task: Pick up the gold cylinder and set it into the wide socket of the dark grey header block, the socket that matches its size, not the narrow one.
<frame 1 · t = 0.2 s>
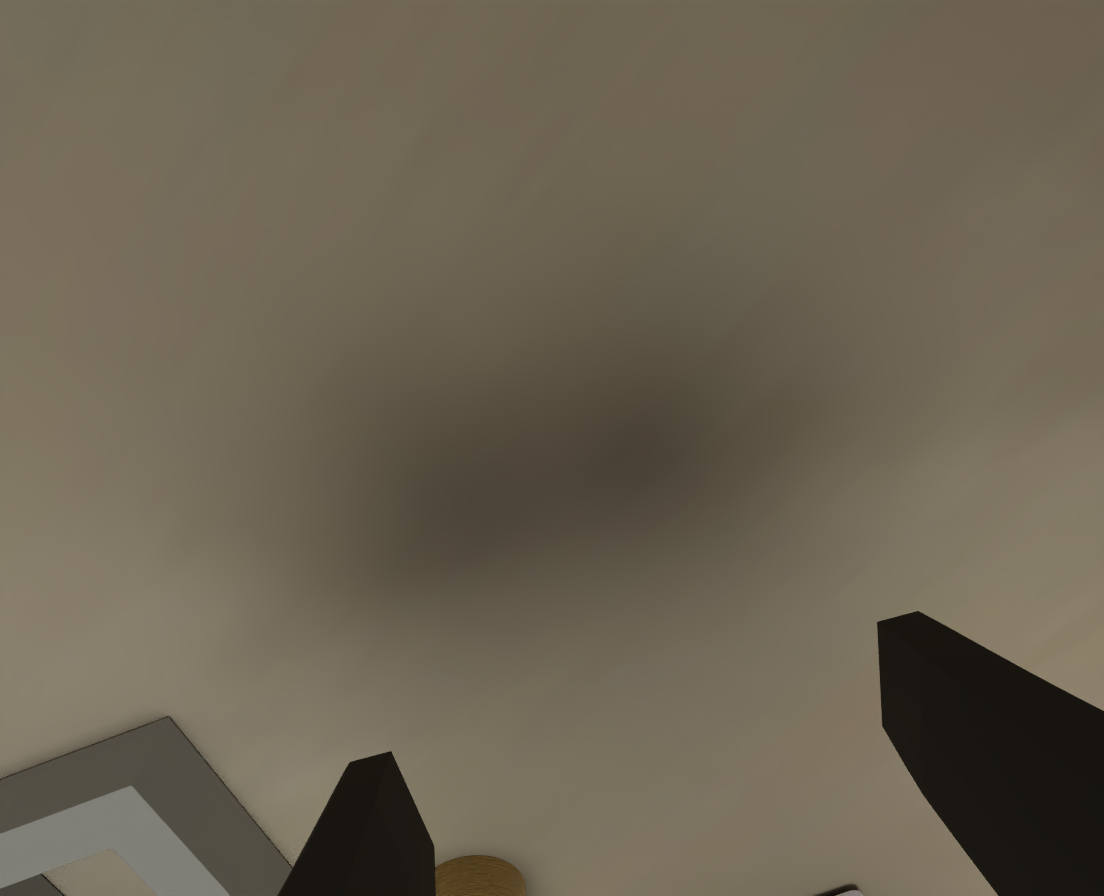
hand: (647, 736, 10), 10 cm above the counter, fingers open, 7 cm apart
gold cylinder: (471, 892, 25), on the counter
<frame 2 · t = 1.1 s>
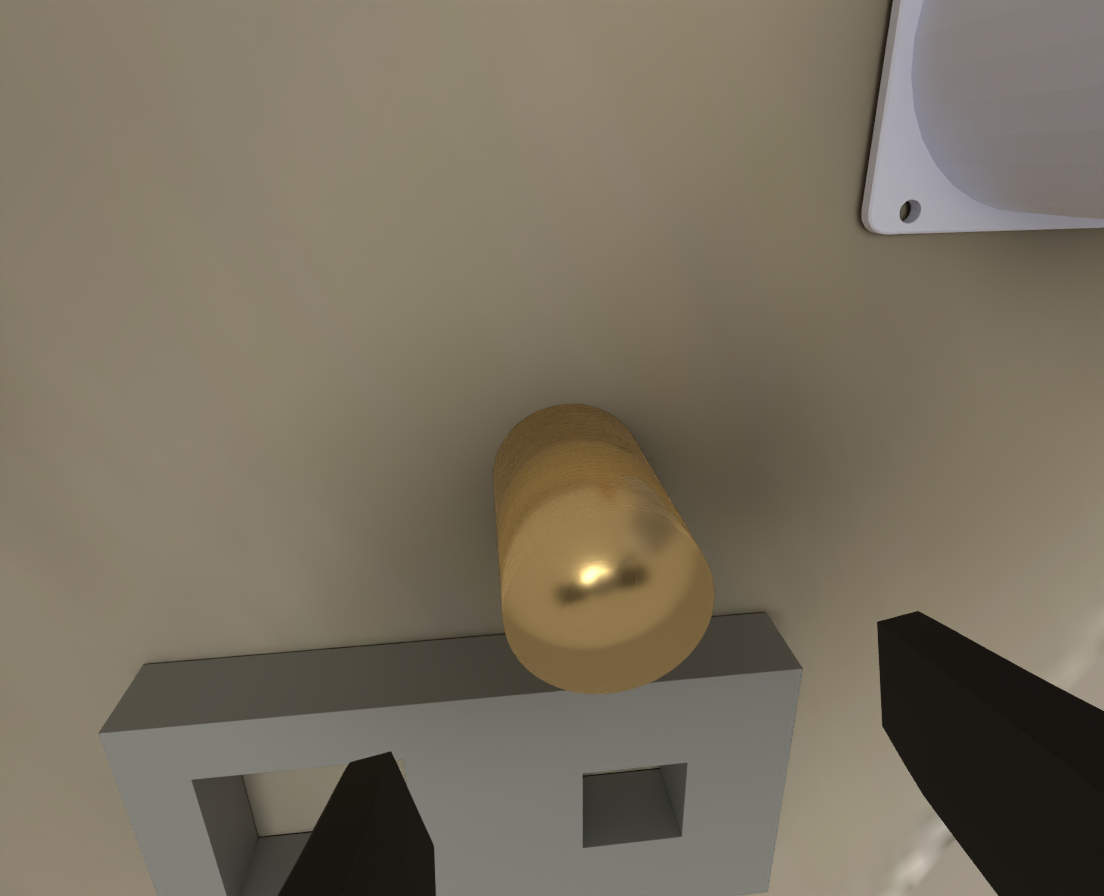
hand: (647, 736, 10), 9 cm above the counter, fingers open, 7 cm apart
header block: (477, 753, 22), on the counter
gold cylinder: (568, 474, 18), on the counter
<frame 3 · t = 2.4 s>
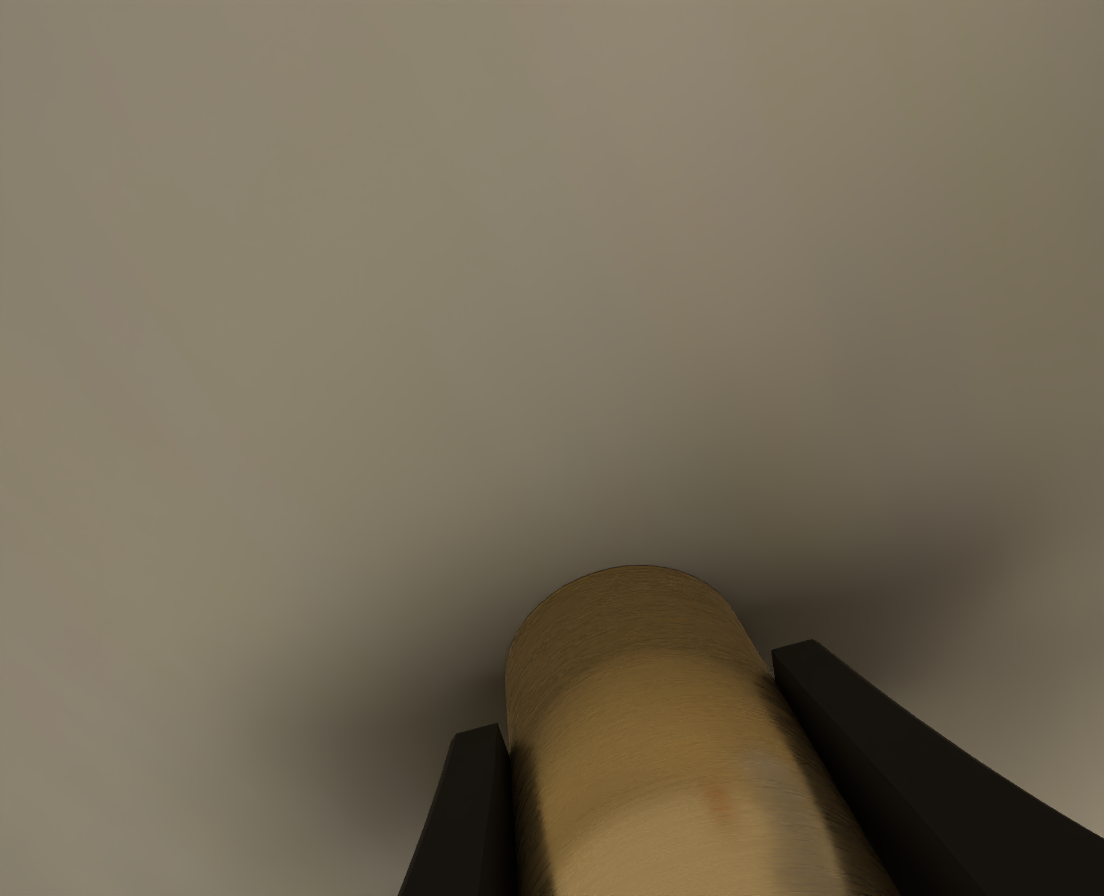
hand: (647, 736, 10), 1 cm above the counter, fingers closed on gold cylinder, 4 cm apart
gold cylinder: (626, 669, 11), on the counter, touching gripper
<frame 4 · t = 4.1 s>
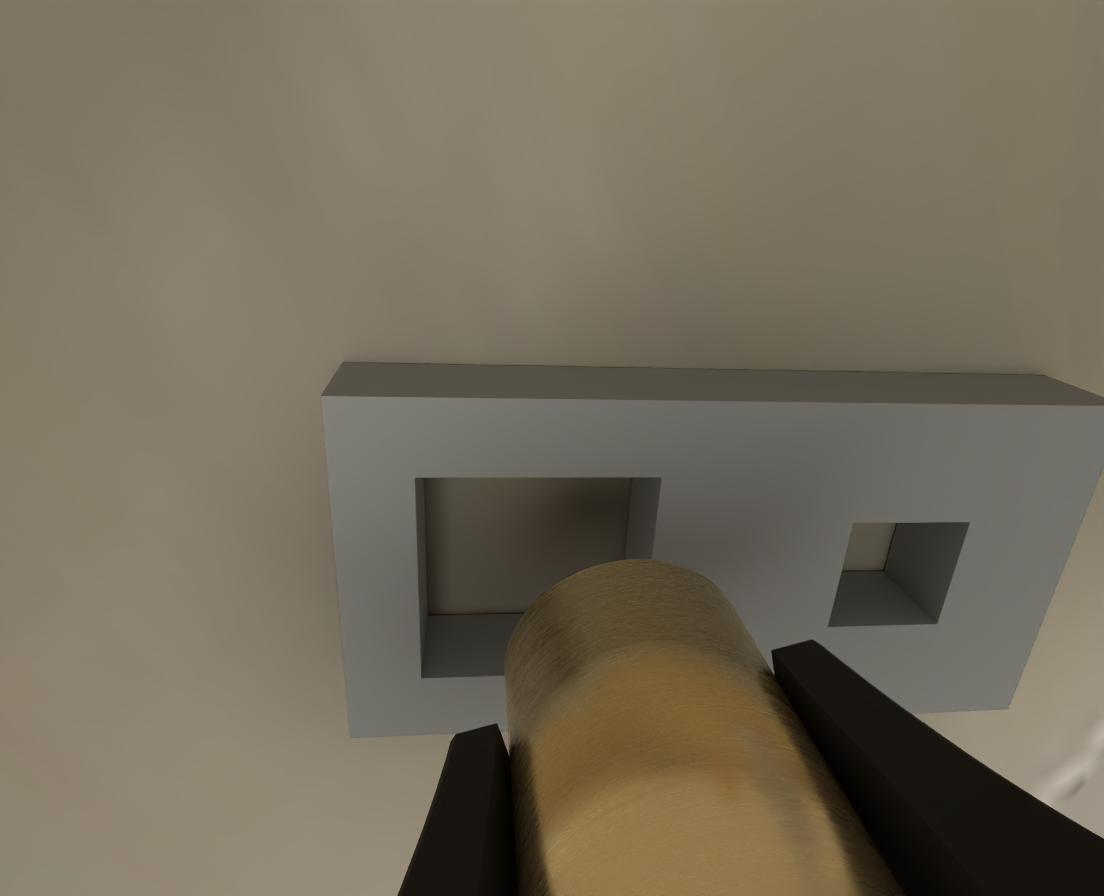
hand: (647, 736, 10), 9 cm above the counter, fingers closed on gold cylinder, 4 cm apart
header block: (691, 527, 19), on the counter
gold cylinder: (625, 663, 11), point 7 cm above the counter, touching gripper
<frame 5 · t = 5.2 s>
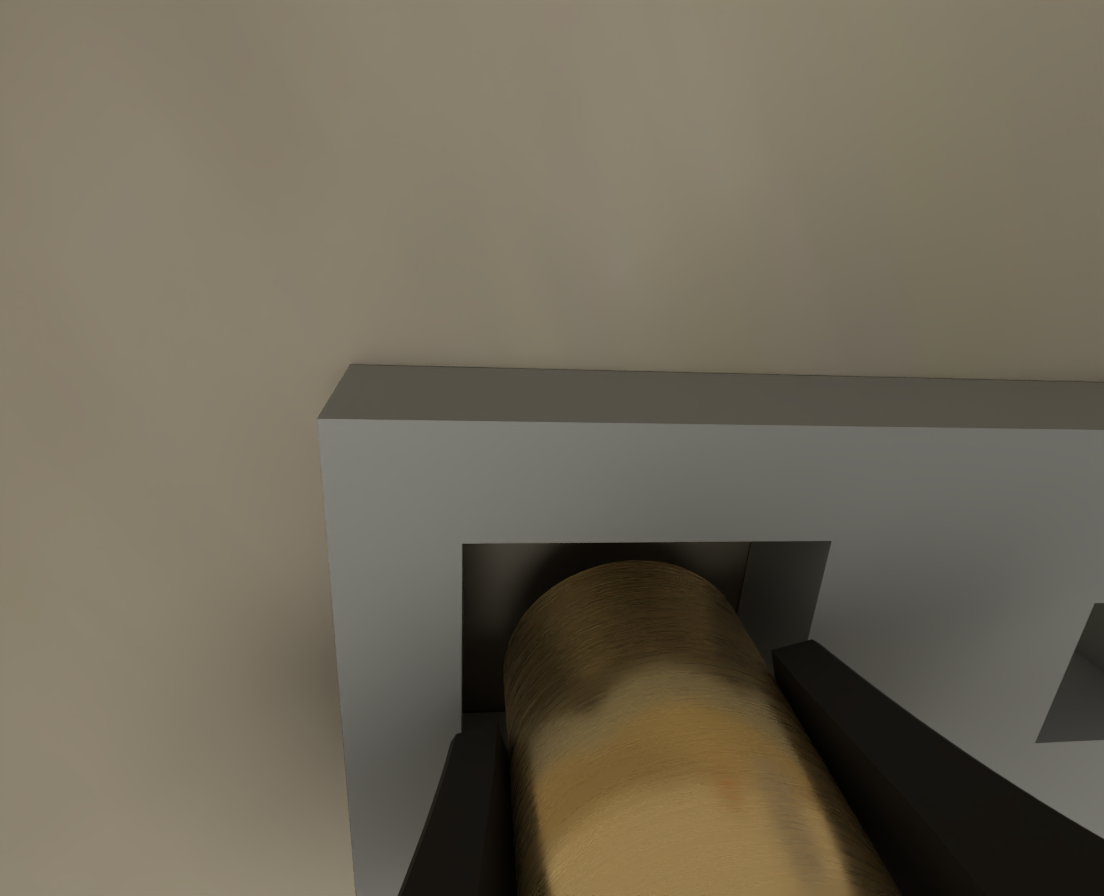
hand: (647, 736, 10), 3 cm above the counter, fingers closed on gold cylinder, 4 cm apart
header block: (827, 594, 14), on the counter
gold cylinder: (624, 664, 11), point 2 cm above the counter, touching gripper
when the fingers open (3 cm above the counter, at t = 6.1 s): gold cylinder drops 2 cm, resting in header block.
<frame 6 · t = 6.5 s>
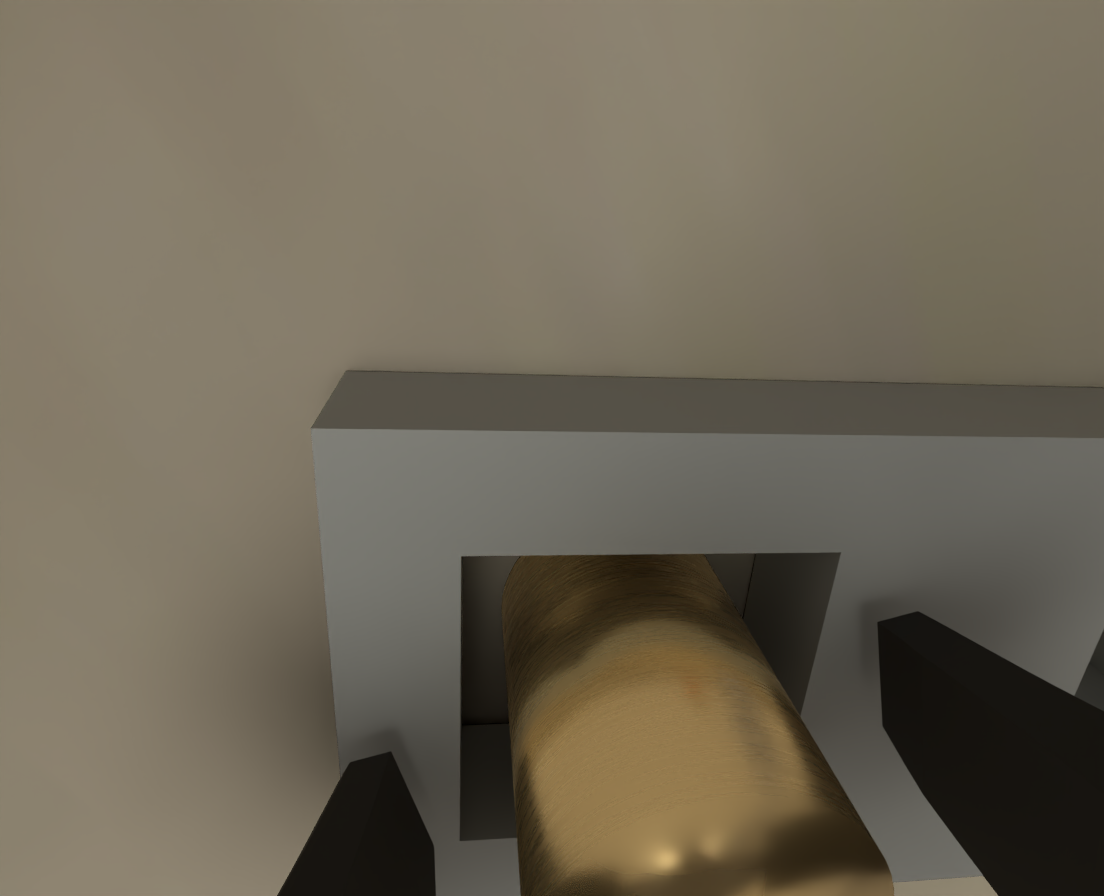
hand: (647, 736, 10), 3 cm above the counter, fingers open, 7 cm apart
header block: (834, 604, 13), on the counter
gold cylinder: (608, 604, 13), resting in header block
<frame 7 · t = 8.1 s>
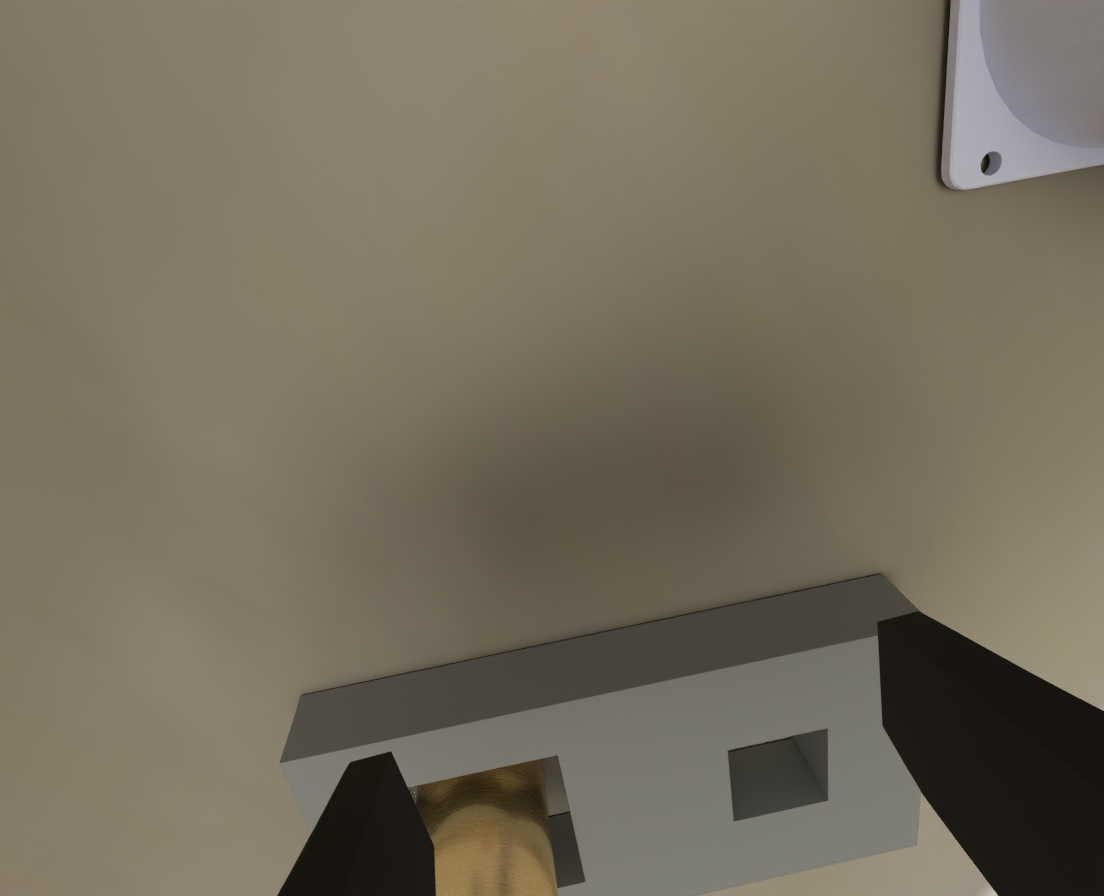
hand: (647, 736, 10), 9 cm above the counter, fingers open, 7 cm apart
header block: (615, 742, 22), on the counter
gold cylinder: (480, 769, 22), resting in header block
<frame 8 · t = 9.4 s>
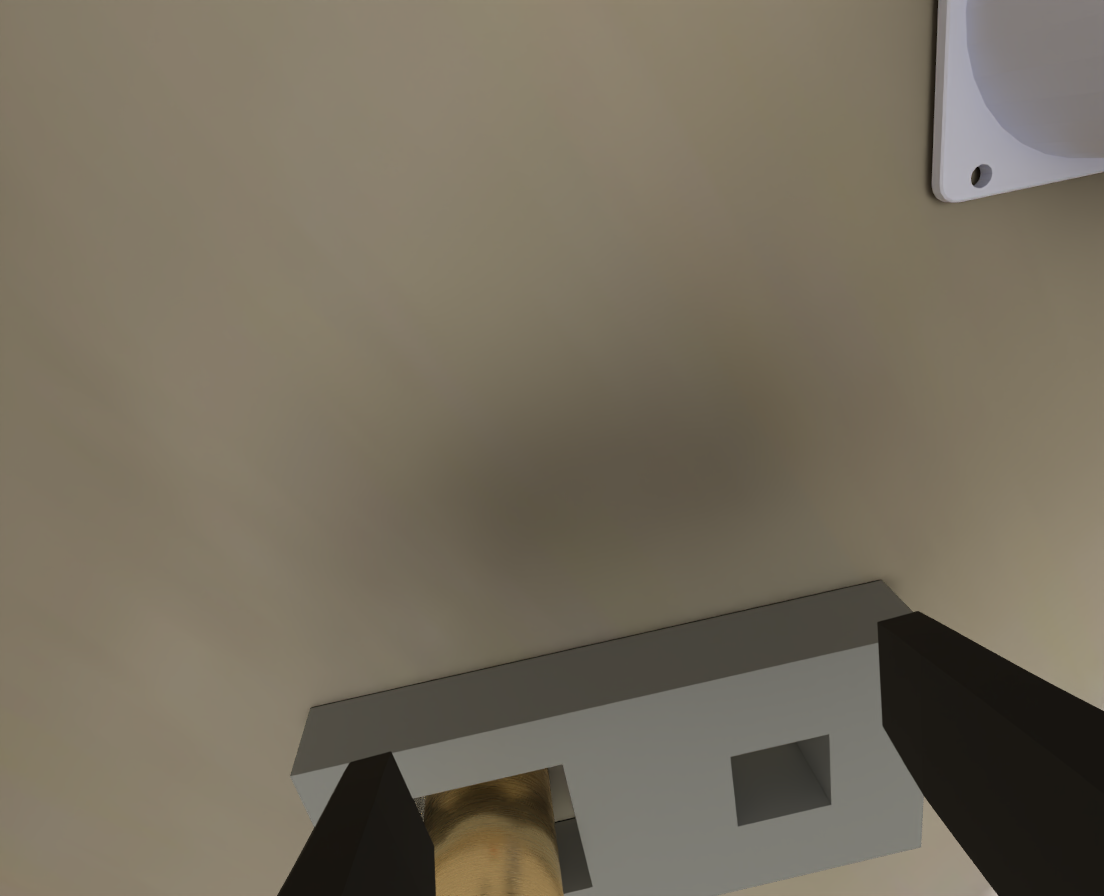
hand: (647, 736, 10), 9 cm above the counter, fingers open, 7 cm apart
header block: (620, 749, 23), on the counter
gold cylinder: (487, 777, 23), resting in header block
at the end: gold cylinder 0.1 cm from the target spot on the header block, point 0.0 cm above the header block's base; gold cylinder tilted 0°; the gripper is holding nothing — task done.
